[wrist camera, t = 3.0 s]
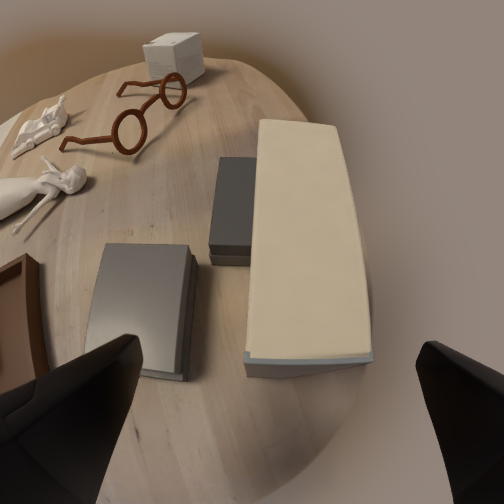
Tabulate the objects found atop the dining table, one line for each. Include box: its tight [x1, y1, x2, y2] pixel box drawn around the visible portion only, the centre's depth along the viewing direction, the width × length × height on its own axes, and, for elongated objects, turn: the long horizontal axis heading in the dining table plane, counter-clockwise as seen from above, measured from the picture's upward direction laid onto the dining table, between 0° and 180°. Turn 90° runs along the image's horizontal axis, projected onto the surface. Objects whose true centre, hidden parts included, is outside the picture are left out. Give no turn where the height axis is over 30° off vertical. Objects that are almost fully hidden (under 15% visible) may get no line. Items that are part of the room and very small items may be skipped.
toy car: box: [11, 94, 68, 159], centre depth 27 cm, size 6×12×4 cm, turn 110°
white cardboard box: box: [143, 33, 205, 89], centre depth 30 cm, size 6×6×7 cm
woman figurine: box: [0, 155, 87, 236], centre depth 21 cm, size 12×4×18 cm
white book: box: [244, 119, 374, 378], centre depth 12 cm, size 7×2×13 cm, turn 177°
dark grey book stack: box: [209, 157, 257, 266], centre depth 20 cm, size 8×6×3 cm
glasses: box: [59, 72, 187, 155], centre depth 26 cm, size 13×13×5 cm
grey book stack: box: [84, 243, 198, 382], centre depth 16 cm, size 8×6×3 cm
